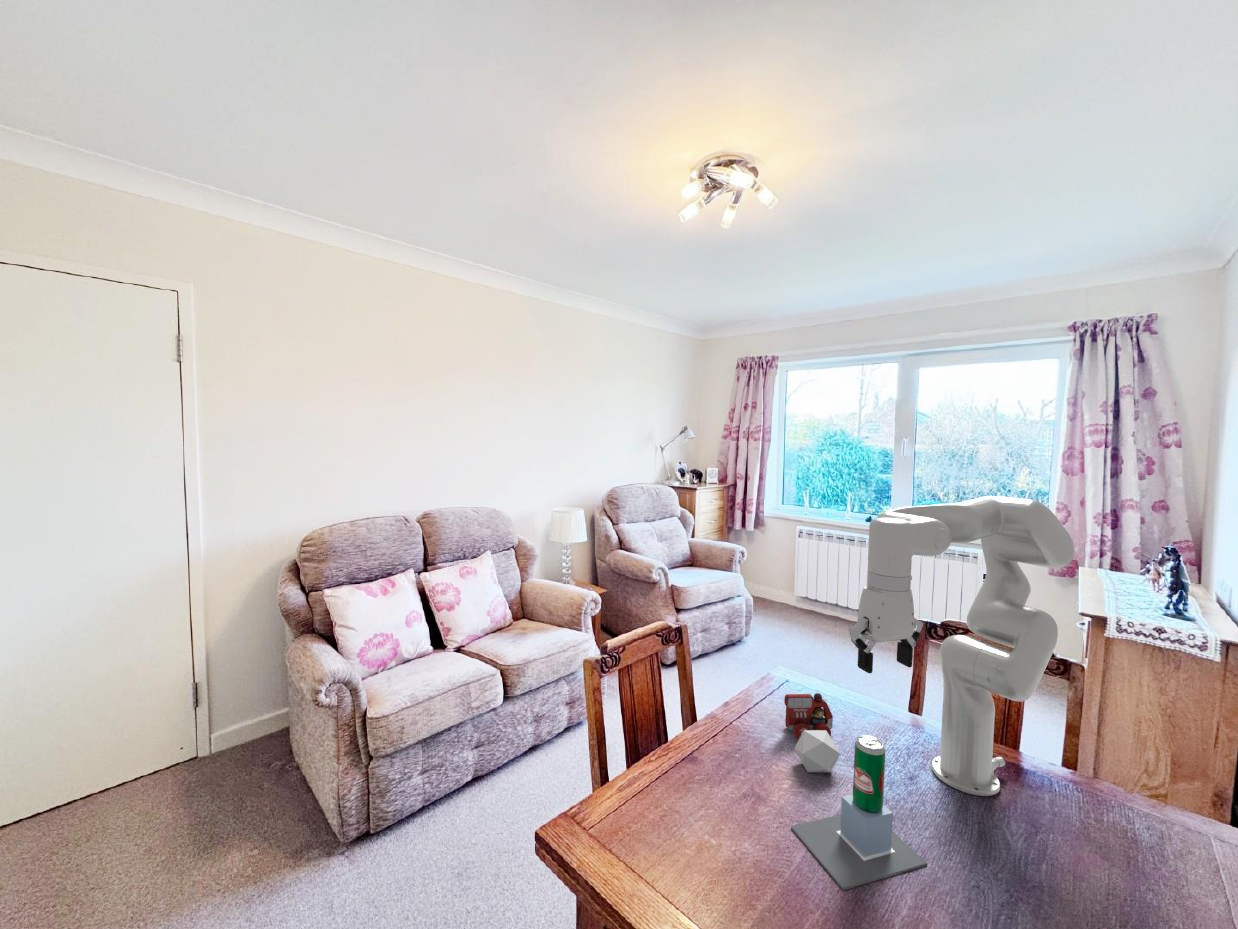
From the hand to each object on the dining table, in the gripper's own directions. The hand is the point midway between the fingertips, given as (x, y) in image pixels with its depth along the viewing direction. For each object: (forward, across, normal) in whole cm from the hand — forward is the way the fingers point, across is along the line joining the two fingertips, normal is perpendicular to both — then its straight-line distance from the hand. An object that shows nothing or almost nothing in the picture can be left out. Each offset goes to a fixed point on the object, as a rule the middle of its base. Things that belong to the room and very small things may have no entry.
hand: (884, 667), depth 100 cm
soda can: (+23, +8, +5) cm, 25 cm away
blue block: (+30, +8, +5) cm, 31 cm away
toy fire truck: (+31, -5, -28) cm, 42 cm away
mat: (+30, +10, +5) cm, 32 cm away
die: (+31, +2, -16) cm, 34 cm away
